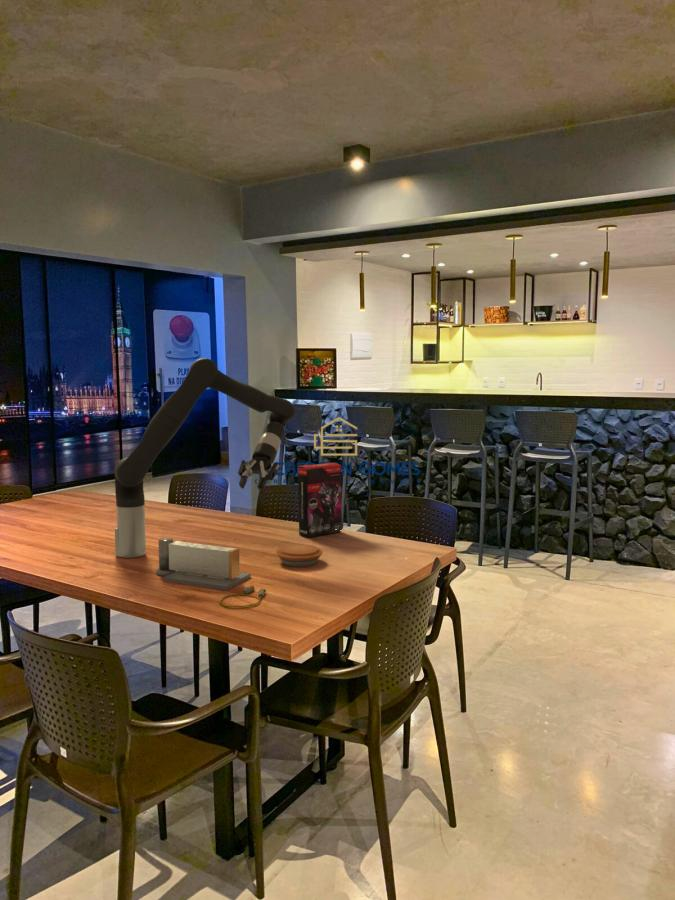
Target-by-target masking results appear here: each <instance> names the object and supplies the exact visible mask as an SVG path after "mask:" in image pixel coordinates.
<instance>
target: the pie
mask: <svg viewBox="0 0 675 900" xmlns="http://www.w3.org/2000/svg"><path fill="white" fill-rule="evenodd" d="M275 554H276V556H277V557H279V559H280V560H281V563H282V564H284V565H285V566H288V567H294V566H298V567H302V566H303V567H309V566H312V565H315V564H316V563H317V562H318V560H319V559H320V557H321V555H322V554H323V549H320V548H318V547H317V546H315V545H311V544H304V543H303V544H298V543H297V544H288V545H284V546H282V547H281V548H278V549H277V550H275ZM298 567H297V568H298Z"/></svg>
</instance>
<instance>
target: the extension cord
mask: <svg viewBox="0 0 675 900" xmlns="http://www.w3.org/2000/svg"><path fill="white" fill-rule="evenodd" d="M253 591H255V586H254V585H250V586H247V587H245V588H244V589H243V590H242V592H240V593H238V594H230V595H229V594H228V595H225V596H224V597H222V598H221V599H220V600H219V605H220V606H221V607H224V608H225V609H230V610H241V609H249V608H254V607H255V608H256V607H257V606H259V605H261V603H262V601H261V600H262V599H261V598H263V597H264V596H265V593H267V590H266V588H259V590H258V592H257V594H258V597H257V596H254V595H250V593H252V592H253ZM237 596H246V597H251V598H254V599H256V600H258V601H257V602H255V603H252V604H246V605H226V604H223V603H222V602H223V601H224V600H225V599H227V598H230V597H237Z"/></svg>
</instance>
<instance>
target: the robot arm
mask: <svg viewBox="0 0 675 900" xmlns="http://www.w3.org/2000/svg"><path fill="white" fill-rule="evenodd" d="M208 388H209V389H211V390H215V391H217V392H219V393H221V394H224V395H225V396H228V397H230V398H232V399H233V400H236V401H237V402H239V403H240V404H243V405H244V406H247V407H248V408H251V409H252V410H254V411H256V412H258V413H260V414H261V413H265V412H270V413H269V416H268V418H267V422H266V426H265V428H264V431H263V433H262V434H261V436H260V438H259V439H258V442H257V444H256V447H255V449H254V451H253V453H252V456H251V459H250V460H249V461H246V460H244V459H242V460H241V463H240V465H239V469H238V472H237V474H238V476H239V477H240V480H239V482H238V485H239V487H240V489H245V487H246V484H247V481H248V480H249V478H250V477H252V476H255V474H260V475H261V477H260V479H259V481H258V483H257V489H258V490H259V491H262V490H263V489H265V485H266V484H267V482H269V481H273V480H274V478H275V477H276V475H277V473H278V471H279V469H280V466H279V464H278V462H275V459H276V457H277V454H278V453H279V450H280V446H281V443H282V441H283V438H284V435H285V433H286V429H285V428H286V426H287V424H288V423H289V422H290V420H291V419H293V417H294V416H295V414H296V407H295V406H294V404H293V403H292V402H290V401H289V400H288V399H285V398H283V397H282V398H281V397H278V396H274V395H269V394H267V393H265V392H263V391H262V390H260V389H258V388H256V387H254V386H252V385H249V384H247V383H245V382H242V381H239V380H238V379H234V378H233V377H230V376H229V375H227V374H225V373H224V372H222V371H221V370H219V369H218V366H217V364H216V363H215V362H214V360H212V359H210V358H207V357H203V358H198V359H196V360H195V361H194V362H192V363H191V365H190V366H189V370H188V372H187V375H186V376H185V378H184V380H183V381H182V383H181V384H180V386H179V387H178V388H177V389H176V390H175V391H174V392H173V393H172V394H171V395H170V396H169V397H168V398H167V399H166V400H165V402H164V403H162V405H161V406H160V407H159V409H158V410H157V412H156V413H155V414H154V415H153V417H152V418H151V420H150V421H149V423H148V425H147V427H146V429H145V431H144V433H143V435H142V436H141V439H140V441H139V443H138V444H137V446H136V447H135V448H134V449H133V451H132V452H131V453H130V454H129V455H128V456H126V457H123V458H122V459H120V460H119V461H118V462H117V463H116V464H115V467H114V489H115V491H114V493H115V502H116V503H115V505H116V506H115V507H116V528H114V545H115V546H114V548H115V549H114V550H115V551H114V552H115V553H114V554H115V557H120V558H126V559H127V558H129V559H130V558H139V557H142V556H145V555H146V553H147V552H146V551H147V550H146V549H147V546H146V511H145V510H146V508H145V507H146V503H145V491H144V479H145V477H146V475H147V473H148V471H149V470H150V468H151V467H152V465H153V463H154V461H155V460H156V459H157V457H158V456H159V454H160V453H161V452H162V451H163V449H164V448H166V446H167V445H168V444H169V443H170V441H171V440H172V439H173V437H174V436H175V435H176V434H177V432H178V431H179V429H180V428H181V426H182V425H183V424H184V422H185V421H186V419H187V418H188V416H189V414H190V413H191V411H192V409H193V408H194V406H195V404H196V402H197V401H198V399H200V397H201V396H202V395H203V393H205V392H206V390H207V389H208Z"/></svg>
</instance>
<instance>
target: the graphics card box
mask: <svg viewBox="0 0 675 900" xmlns="http://www.w3.org/2000/svg"><path fill="white" fill-rule="evenodd" d="M297 474H298V475H297V478H298V479H297V483H298V485H297V487H298V489H297V492H298V535H299V536H301V537H305V538H313V537H319V536H323V535H328V534H329V535H330V534H334V533H340V532H342V531H343V520H342V519H343V518H342V517H343V515H342V513H343V509H342V504H343V503H342V465H341V464H339V463H336V462H328V463H327V462H326V463H320V464H319V463H318V464H317V463H316V464H308V465H305V464H304V465H298V466H297ZM335 529H337V530H335ZM340 530H342V531H340Z"/></svg>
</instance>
